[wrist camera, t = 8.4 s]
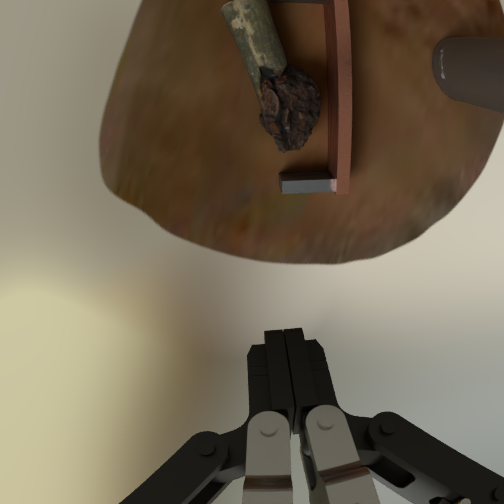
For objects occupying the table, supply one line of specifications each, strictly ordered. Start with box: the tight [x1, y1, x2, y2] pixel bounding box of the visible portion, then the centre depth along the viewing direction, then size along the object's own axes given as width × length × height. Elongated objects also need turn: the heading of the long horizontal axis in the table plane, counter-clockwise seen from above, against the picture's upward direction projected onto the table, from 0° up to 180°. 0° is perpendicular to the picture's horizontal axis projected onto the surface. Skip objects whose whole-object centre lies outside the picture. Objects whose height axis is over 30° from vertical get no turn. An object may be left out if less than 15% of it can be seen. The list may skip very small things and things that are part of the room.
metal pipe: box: [220, 0, 321, 153], centre depth 27 cm, size 18×7×6 cm, turn 18°
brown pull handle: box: [270, 0, 352, 195], centre depth 29 cm, size 8×24×4 cm, turn 3°
